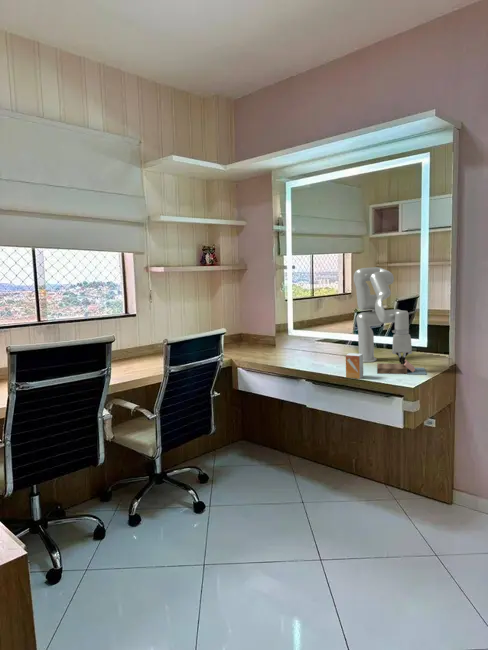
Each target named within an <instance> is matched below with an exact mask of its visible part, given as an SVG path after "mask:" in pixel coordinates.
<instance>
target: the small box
mask: <svg viewBox="0 0 488 650" xmlns="http://www.w3.org/2000/svg"><path fill="white" fill-rule="evenodd" d="M363 377H364V362H363V354H358V353H351V352H348V353H347V354H346V355H345V378H348V379H357V380H360V379H362V378H363Z"/></svg>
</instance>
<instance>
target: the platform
mask: <svg viewBox="0 0 488 650" xmlns="http://www.w3.org/2000/svg"><path fill="white" fill-rule="evenodd" d="M376 366H377V367H376V372H377V373H376V374H379V375H380V374H383V375H385V374H387V375H391V374H393V375H408V374H407V367H406V366H404V364H401V363H385V362H384V363H383V362H382V363H381V362H380V363H379V362H378V363H377V365H376Z"/></svg>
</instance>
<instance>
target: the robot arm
mask: <svg viewBox="0 0 488 650" xmlns="http://www.w3.org/2000/svg"><path fill="white" fill-rule="evenodd" d="M394 280H395V277H394V273H392V272H391V271H390V270H388V269H385V268H382V267H379V266H377V267H375V266H374V267H361V268H359V269H356V270H355V272H354V273H353V283H354V286H355V290H356V293H355V294H356V302H357V308H358V309H359V310H361V311H364V312H360V313H358V314H357V316H356V319H355V321H356V326H357V332H358V334H357V335H358V337H357V339H358V353H357V354H363V363H373V362H376V361H378V360H377V357H375V345H374V344H375V343H374V342H375V340H374V339H375V338H374V331H373V329H372V328H371V327H376V326H377V327H378V326H381V325H383V324H390V323H394V329H393V330H392V329H391V332H392V333H393V335H392V351H391V352H392V354H393V355H397V357H398V358H399V359H398V361H399V363H398V364H404V363H405V360H406V359H405V358H406V357H407V356H408V355H411V354H413V351H412V349H413V347H412V338H411V334H409V333H410V329H409V328H410V326H409V324H410V319H409V312H408V310H401V309H397V308H394V309H385V308H384V305H383V301H385V300H386V299H388V298H390V296H391V294H392V291H391V289H390V285H393V283H394ZM367 282H371V286H372V288H373V291H374V293H375V294H371V289H370V286H369V284H368V283H367ZM369 310H372V311H369ZM401 353H403V354H402V355H401Z"/></svg>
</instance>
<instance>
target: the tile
mask: <svg viewBox="0 0 488 650" xmlns="http://www.w3.org/2000/svg"><path fill="white" fill-rule="evenodd" d="M404 366H406V367H407V368H408V369H409V370H410V371H412V372H414V371H415V368H416V367H415V366H414V364H412V363H410V362H409V361H408V360H407V359H405V363H404Z"/></svg>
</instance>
